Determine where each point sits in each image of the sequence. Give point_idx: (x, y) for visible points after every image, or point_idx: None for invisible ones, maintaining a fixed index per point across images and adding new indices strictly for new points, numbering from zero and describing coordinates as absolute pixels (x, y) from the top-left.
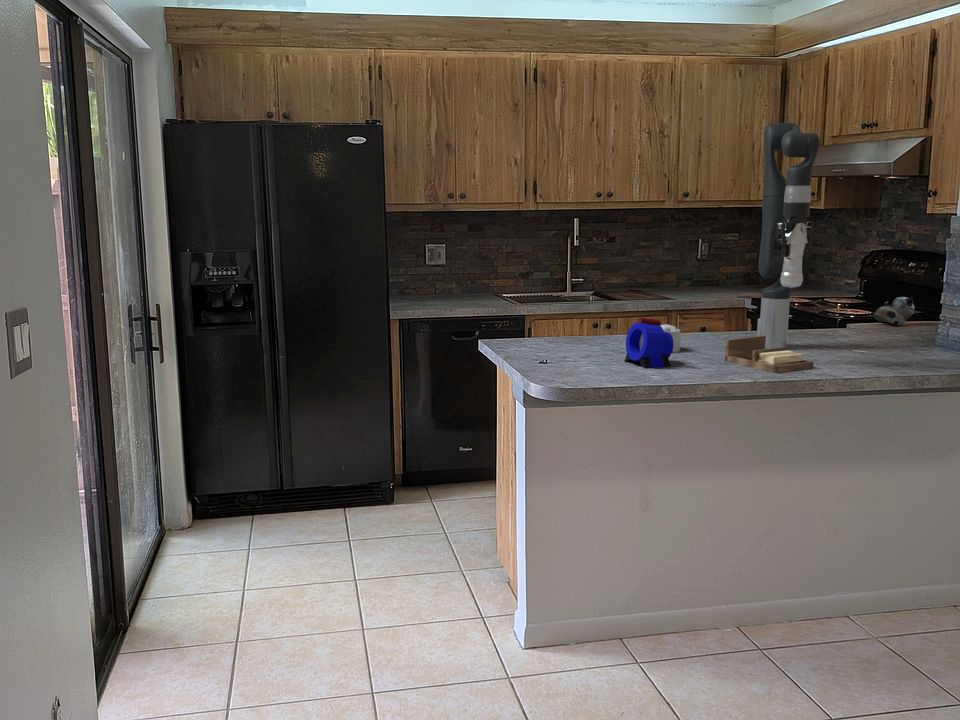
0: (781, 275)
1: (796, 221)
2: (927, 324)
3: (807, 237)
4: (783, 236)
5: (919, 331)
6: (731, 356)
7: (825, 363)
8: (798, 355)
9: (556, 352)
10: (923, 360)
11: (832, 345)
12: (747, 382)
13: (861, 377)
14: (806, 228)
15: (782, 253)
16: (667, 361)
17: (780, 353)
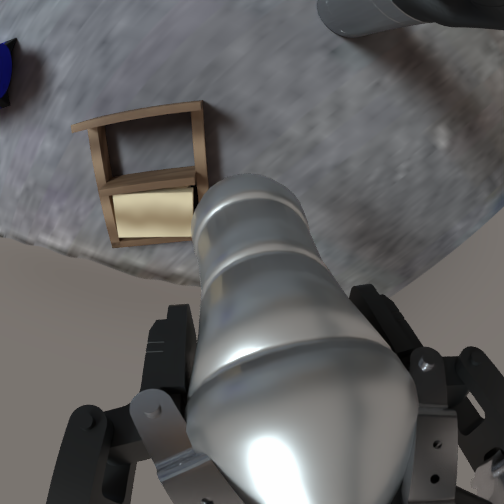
0: (197, 217)
1: None
2: None
3: (458, 399)
4: (105, 485)
5: None
6: (92, 131)
7: (300, 182)
8: (181, 235)
9: None
10: (436, 235)
11: (449, 79)
12: (61, 251)
13: None
14: (485, 463)
15: (152, 337)
16: (2, 102)
17: (153, 213)
